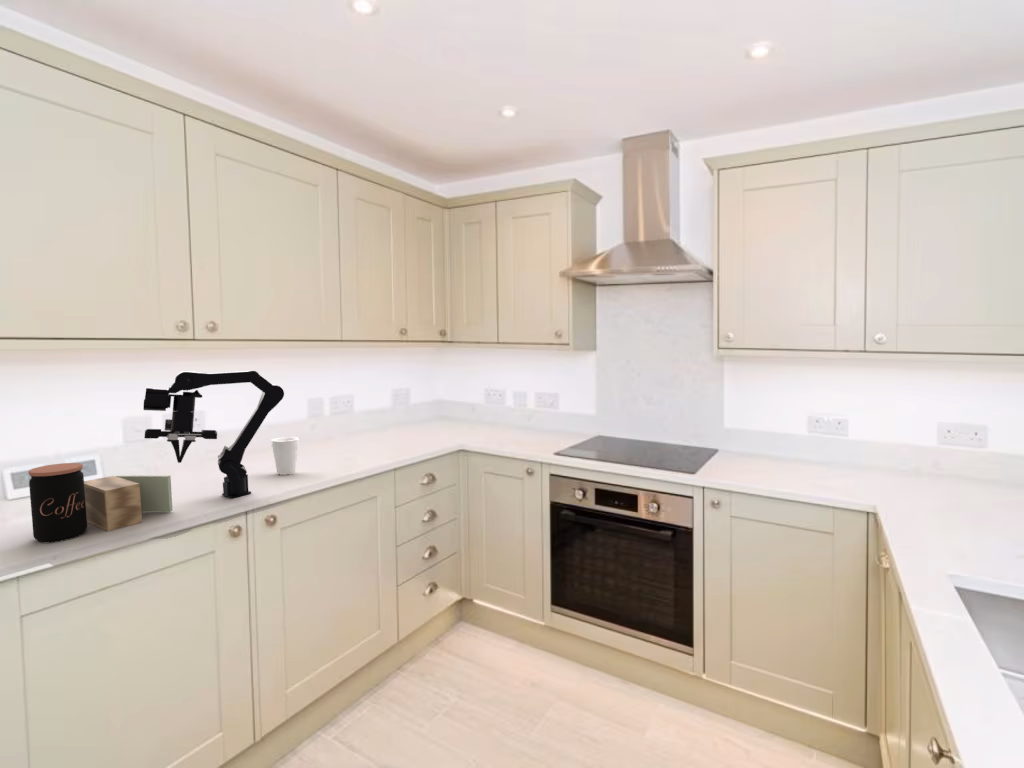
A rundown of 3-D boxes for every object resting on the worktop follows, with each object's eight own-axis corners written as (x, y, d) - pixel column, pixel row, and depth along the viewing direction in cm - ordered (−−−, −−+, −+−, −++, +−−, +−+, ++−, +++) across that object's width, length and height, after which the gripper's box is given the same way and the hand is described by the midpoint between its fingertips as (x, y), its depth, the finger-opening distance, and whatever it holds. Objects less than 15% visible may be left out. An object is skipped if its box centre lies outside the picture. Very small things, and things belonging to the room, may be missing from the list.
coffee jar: (37, 547, 129) (31, 475, 128) (30, 536, 136) (25, 468, 135) (91, 535, 137) (86, 467, 136) (83, 525, 144) (78, 460, 143)
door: (121, 508, 157) (118, 474, 156) (175, 509, 157) (173, 474, 156) (115, 511, 155) (112, 476, 154) (169, 512, 154) (167, 476, 153)
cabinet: (115, 512, 155) (113, 475, 154) (141, 522, 147) (139, 483, 146) (82, 520, 148) (79, 482, 147) (108, 531, 140) (105, 490, 139)
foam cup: (283, 469, 206) (282, 436, 205) (304, 470, 204) (303, 437, 203) (267, 475, 197) (266, 441, 196) (289, 476, 195) (288, 442, 194)
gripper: (214, 413, 175) (211, 460, 173) (146, 410, 164) (142, 461, 163) (219, 412, 166) (215, 462, 164) (147, 410, 155) (142, 463, 154)
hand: (179, 462), depth 162 cm, fingers closed
